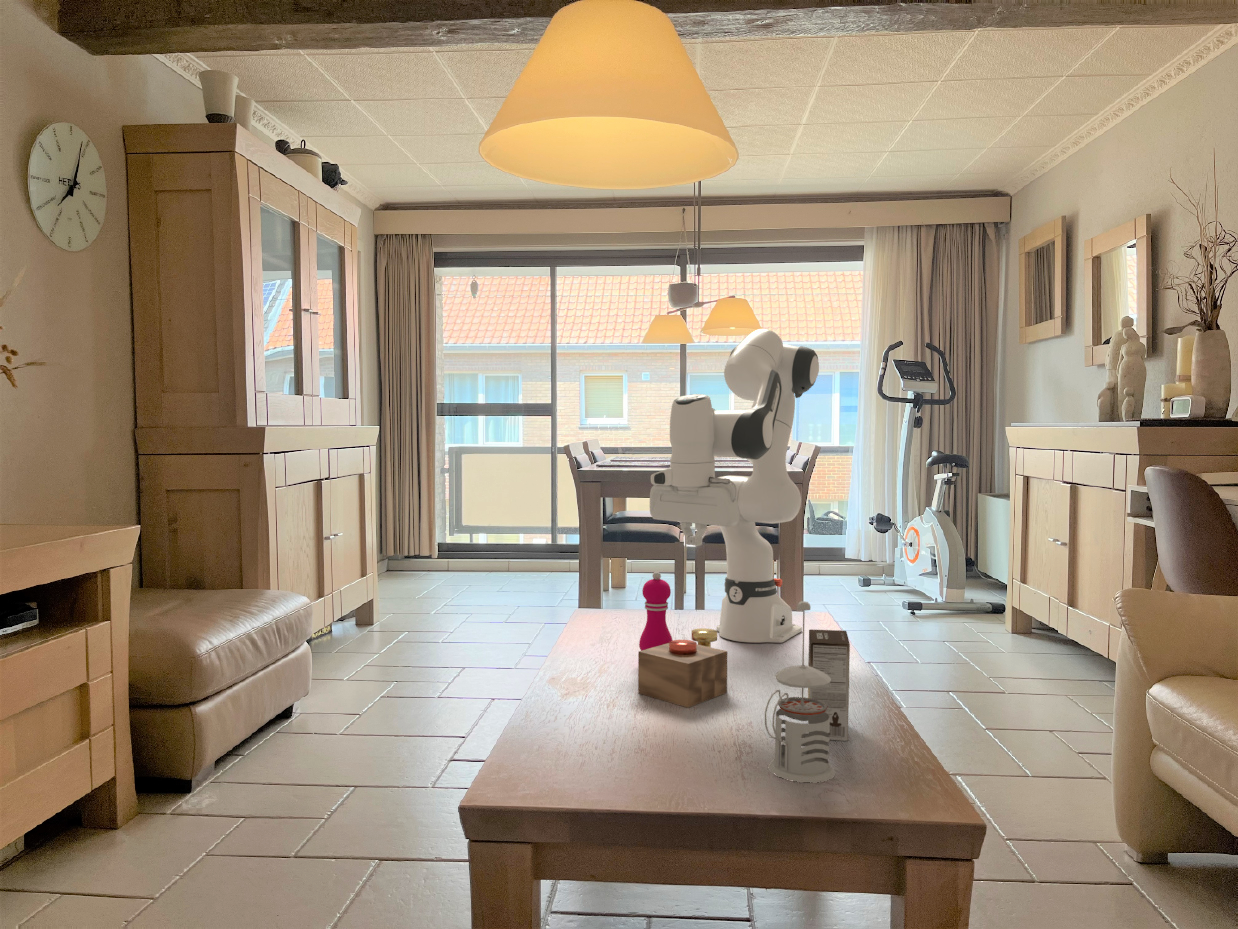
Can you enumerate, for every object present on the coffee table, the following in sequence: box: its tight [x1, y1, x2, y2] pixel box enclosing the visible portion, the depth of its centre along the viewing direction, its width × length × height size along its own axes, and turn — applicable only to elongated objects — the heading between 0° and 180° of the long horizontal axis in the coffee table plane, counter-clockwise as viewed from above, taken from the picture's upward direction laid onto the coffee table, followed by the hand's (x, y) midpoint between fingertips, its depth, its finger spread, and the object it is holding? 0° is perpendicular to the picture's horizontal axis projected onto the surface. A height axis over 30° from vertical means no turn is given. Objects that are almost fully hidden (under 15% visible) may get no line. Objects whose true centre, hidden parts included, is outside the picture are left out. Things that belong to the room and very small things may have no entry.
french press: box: [764, 600, 837, 784], centre depth 123 cm, size 10×12×25 cm
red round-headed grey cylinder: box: [669, 639, 698, 655], centre depth 159 cm, size 5×5×9 cm
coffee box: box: [807, 629, 851, 742], centre depth 139 cm, size 9×6×16 cm
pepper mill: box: [638, 571, 674, 651], centre depth 178 cm, size 7×7×20 cm
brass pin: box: [691, 627, 718, 648], centre depth 171 cm, size 5×5×9 cm
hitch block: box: [637, 643, 728, 709], centre depth 159 cm, size 12×12×8 cm
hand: (693, 545), depth 168 cm, fingers closed
